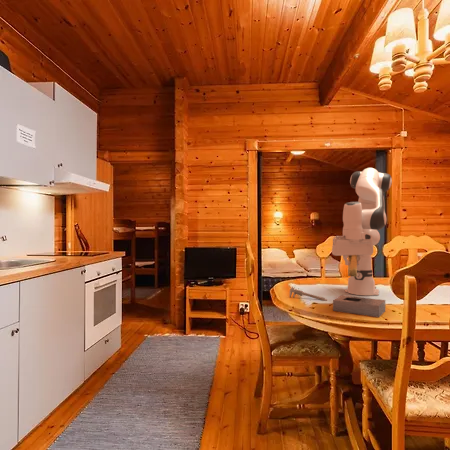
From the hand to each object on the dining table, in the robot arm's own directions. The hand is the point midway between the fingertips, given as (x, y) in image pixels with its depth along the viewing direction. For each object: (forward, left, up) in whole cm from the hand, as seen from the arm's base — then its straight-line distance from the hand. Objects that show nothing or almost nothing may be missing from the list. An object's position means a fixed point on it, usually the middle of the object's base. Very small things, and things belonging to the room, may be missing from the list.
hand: (352, 265), depth 163 cm
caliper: (-12, -27, -22) cm, 36 cm away
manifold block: (0, +3, -21) cm, 21 cm away
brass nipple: (0, 0, -5) cm, 5 cm away
